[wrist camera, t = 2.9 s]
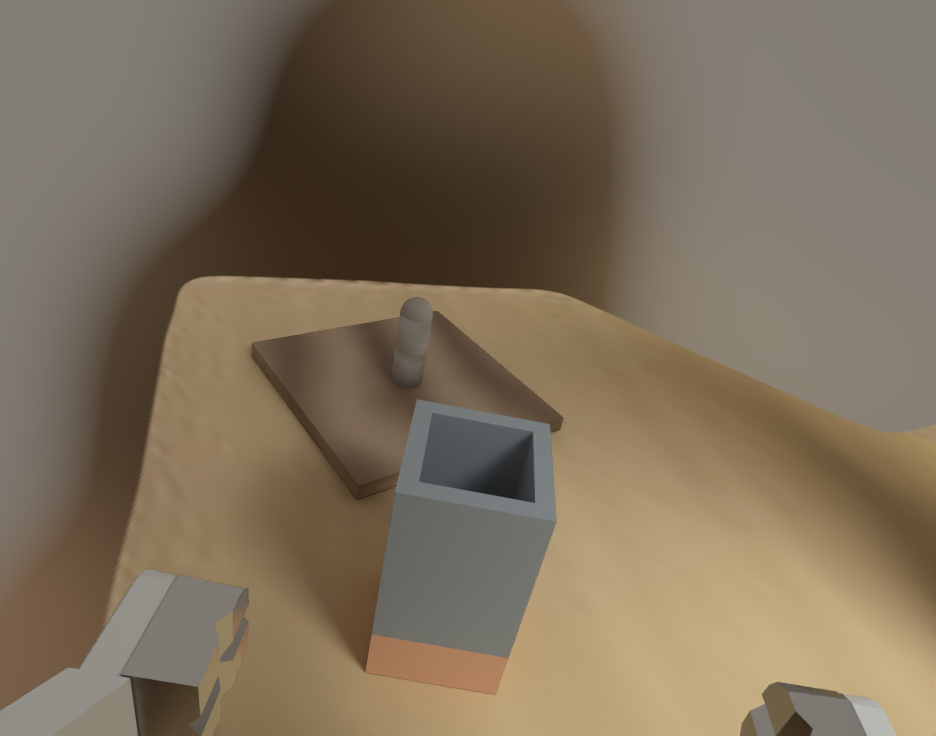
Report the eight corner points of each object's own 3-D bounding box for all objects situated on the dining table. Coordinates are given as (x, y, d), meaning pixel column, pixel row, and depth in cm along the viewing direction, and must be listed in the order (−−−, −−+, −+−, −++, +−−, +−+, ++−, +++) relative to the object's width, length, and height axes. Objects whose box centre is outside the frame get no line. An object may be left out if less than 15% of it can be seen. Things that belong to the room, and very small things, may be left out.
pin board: (435, 321, 53) (449, 240, 49) (559, 429, 43) (588, 339, 40) (251, 355, 44) (252, 259, 40) (357, 499, 35) (370, 391, 31)
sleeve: (499, 588, 31) (550, 424, 26) (495, 694, 27) (556, 521, 22) (388, 568, 31) (417, 399, 26) (365, 672, 27) (394, 492, 21)
